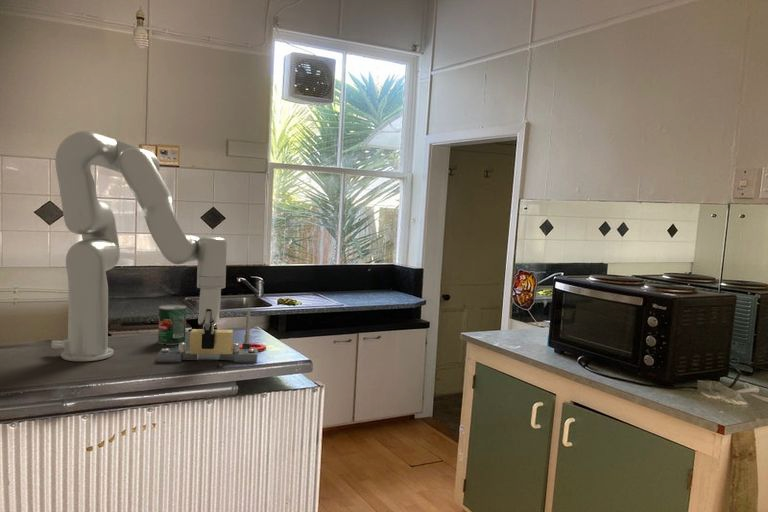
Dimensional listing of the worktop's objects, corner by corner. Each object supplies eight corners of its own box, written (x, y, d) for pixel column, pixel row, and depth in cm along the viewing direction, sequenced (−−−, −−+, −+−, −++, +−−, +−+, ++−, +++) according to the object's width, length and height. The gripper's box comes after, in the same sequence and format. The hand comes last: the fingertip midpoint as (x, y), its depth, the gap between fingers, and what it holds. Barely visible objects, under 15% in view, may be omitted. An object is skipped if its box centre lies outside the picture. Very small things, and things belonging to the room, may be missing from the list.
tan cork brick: (189, 353, 158) (190, 332, 157) (191, 350, 162) (192, 329, 161) (231, 354, 160) (232, 332, 159) (232, 350, 164) (232, 329, 163)
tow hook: (243, 346, 180) (231, 351, 171) (246, 304, 179) (234, 307, 170) (269, 348, 179) (258, 354, 169) (272, 306, 178) (261, 310, 169)
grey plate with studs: (157, 362, 155) (157, 345, 155) (161, 356, 161) (162, 340, 161) (256, 362, 160) (257, 346, 160) (257, 356, 166) (257, 341, 166)
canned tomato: (152, 343, 175) (153, 307, 174) (167, 338, 182) (168, 303, 182) (176, 346, 173) (177, 309, 172) (190, 340, 181) (191, 305, 180)
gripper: (200, 277, 167) (199, 337, 168) (192, 286, 150) (191, 352, 151) (227, 278, 168) (225, 337, 170) (222, 286, 151) (220, 352, 153)
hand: (209, 344), depth 160 cm, fingers open, 8 cm apart
